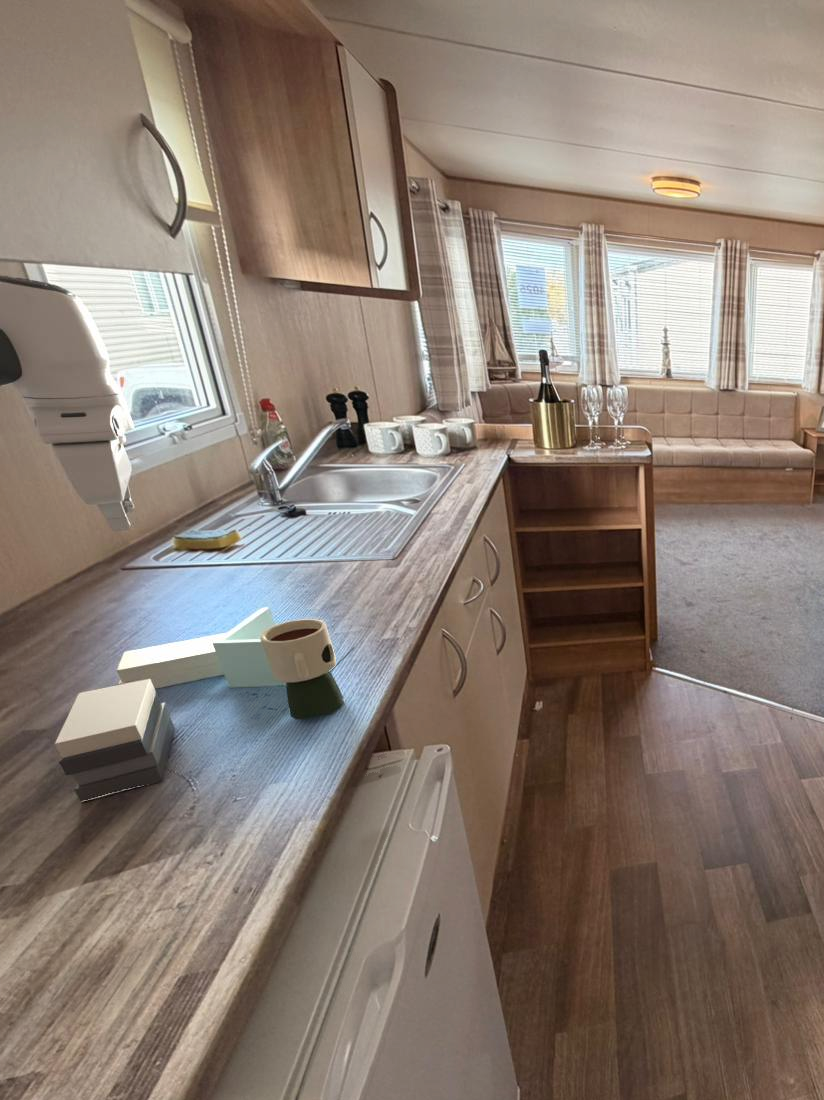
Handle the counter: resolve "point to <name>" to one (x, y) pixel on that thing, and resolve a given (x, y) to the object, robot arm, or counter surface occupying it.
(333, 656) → the character mug
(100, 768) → the grey book pile
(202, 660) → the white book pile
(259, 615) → the l-shaped corner panel
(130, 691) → the cream flat block
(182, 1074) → the counter surface
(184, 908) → the counter surface
